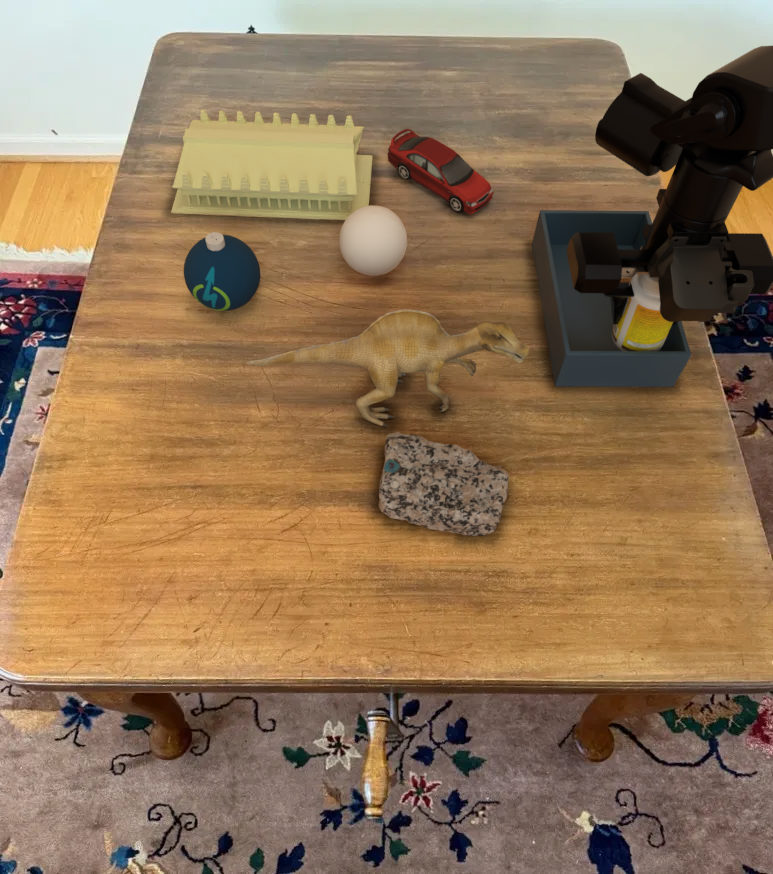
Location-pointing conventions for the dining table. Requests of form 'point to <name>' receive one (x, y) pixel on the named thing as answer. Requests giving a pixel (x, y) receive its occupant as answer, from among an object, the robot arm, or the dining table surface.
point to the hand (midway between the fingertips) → (642, 321)
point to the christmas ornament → (222, 272)
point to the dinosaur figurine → (405, 354)
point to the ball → (373, 240)
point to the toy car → (439, 171)
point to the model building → (272, 168)
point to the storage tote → (595, 309)
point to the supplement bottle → (642, 318)
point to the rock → (440, 486)
